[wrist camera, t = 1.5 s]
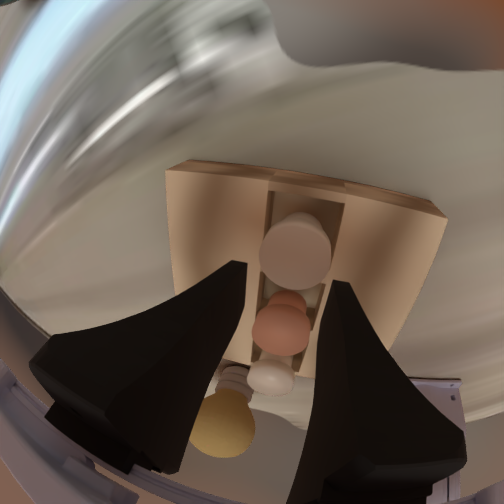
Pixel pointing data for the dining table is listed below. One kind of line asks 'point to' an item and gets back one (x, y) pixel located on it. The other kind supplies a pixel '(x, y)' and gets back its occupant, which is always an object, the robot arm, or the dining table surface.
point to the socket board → (333, 223)
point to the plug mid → (282, 324)
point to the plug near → (296, 252)
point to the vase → (6, 2)
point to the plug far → (272, 374)
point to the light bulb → (226, 416)
